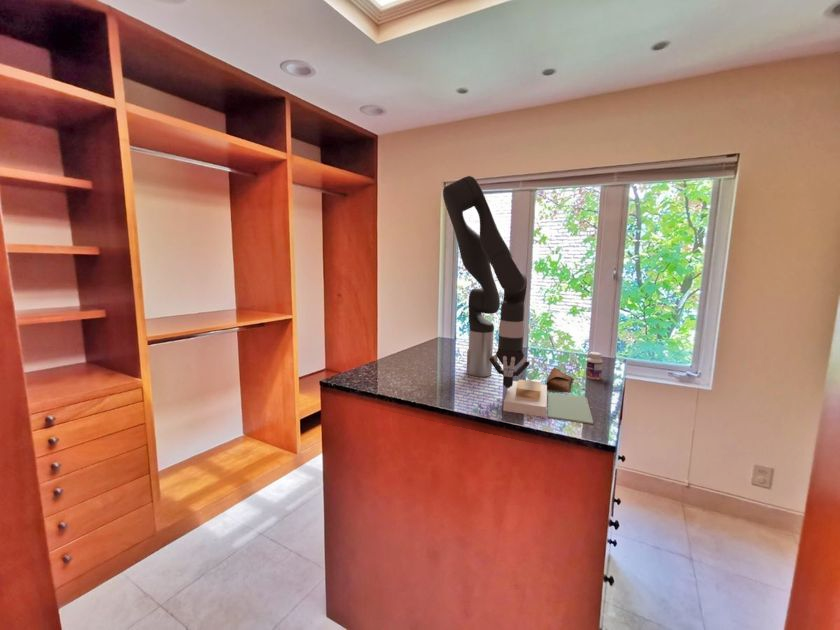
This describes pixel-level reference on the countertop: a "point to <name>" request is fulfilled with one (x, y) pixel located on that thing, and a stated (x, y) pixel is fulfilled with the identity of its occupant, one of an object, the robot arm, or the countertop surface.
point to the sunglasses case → (558, 381)
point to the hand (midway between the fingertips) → (507, 387)
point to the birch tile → (528, 389)
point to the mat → (569, 408)
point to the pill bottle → (594, 366)
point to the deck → (525, 402)
